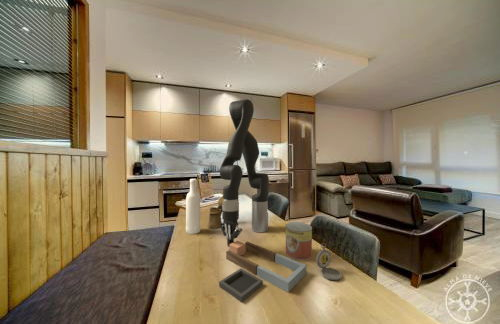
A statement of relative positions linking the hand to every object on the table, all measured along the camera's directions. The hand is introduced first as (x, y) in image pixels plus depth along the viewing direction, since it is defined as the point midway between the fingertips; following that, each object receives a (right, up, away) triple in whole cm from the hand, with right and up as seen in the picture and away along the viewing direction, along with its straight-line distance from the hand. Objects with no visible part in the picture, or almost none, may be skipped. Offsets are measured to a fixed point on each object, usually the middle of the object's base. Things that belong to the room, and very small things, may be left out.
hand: (230, 246), depth 84 cm
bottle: (-23, -1, +21) cm, 32 cm away
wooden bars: (+9, -2, -8) cm, 13 cm away
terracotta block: (+3, -2, -3) cm, 5 cm away
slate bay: (+20, -2, -18) cm, 27 cm away
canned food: (+30, -2, -3) cm, 31 cm away
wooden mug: (-11, -1, +32) cm, 34 cm away
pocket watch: (+38, -2, -17) cm, 41 cm away
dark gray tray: (+6, -2, -24) cm, 25 cm away
